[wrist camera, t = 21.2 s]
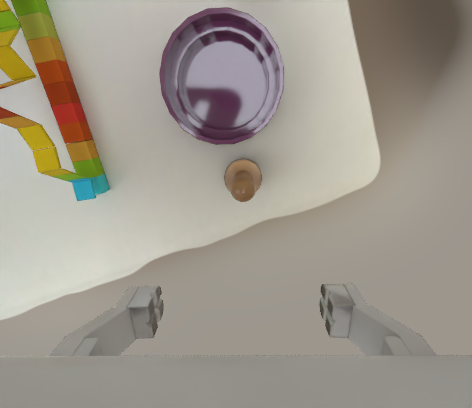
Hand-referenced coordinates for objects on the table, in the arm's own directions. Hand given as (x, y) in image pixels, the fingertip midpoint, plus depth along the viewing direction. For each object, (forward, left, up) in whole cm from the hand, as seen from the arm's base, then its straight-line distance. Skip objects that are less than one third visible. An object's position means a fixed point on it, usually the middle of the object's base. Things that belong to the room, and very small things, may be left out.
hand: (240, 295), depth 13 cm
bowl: (-2, +12, -27) cm, 30 cm away
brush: (0, 0, -27) cm, 27 cm away
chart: (-24, +13, -27) cm, 39 cm away
